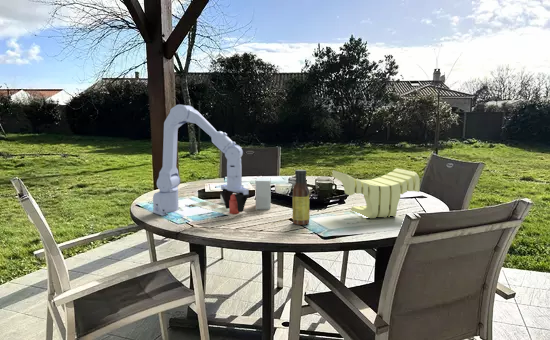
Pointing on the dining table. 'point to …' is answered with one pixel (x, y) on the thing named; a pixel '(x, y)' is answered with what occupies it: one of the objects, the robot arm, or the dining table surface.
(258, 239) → the dining table surface
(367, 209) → the slatted curved stool
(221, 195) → the die
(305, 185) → the sauce bottle
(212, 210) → the board
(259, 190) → the small box
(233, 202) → the pawn
